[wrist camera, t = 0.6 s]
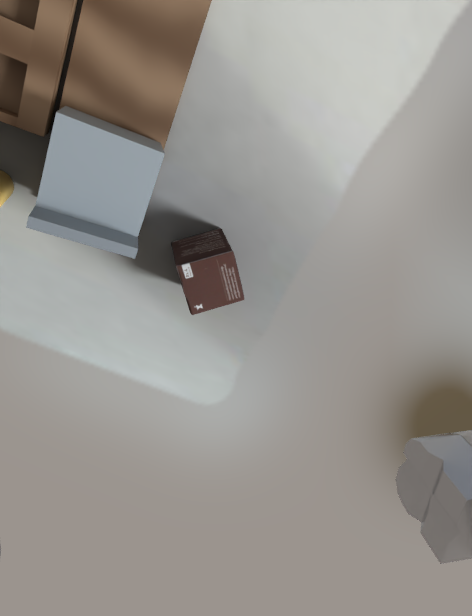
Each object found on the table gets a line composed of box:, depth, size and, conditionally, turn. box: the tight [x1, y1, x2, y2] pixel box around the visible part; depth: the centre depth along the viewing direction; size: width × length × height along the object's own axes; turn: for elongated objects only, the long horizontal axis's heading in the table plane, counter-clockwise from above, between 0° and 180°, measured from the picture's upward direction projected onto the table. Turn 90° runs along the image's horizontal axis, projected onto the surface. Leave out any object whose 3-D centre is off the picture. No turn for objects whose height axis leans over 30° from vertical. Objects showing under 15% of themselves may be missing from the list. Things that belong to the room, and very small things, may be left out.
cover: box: [26, 106, 165, 259], centre depth 40 cm, size 9×9×9 cm
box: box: [171, 229, 244, 315], centre depth 48 cm, size 6×6×7 cm
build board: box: [0, 0, 78, 137], centre depth 37 cm, size 13×9×3 cm
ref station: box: [59, 0, 212, 150], centre depth 39 cm, size 24×10×6 cm, turn 157°
